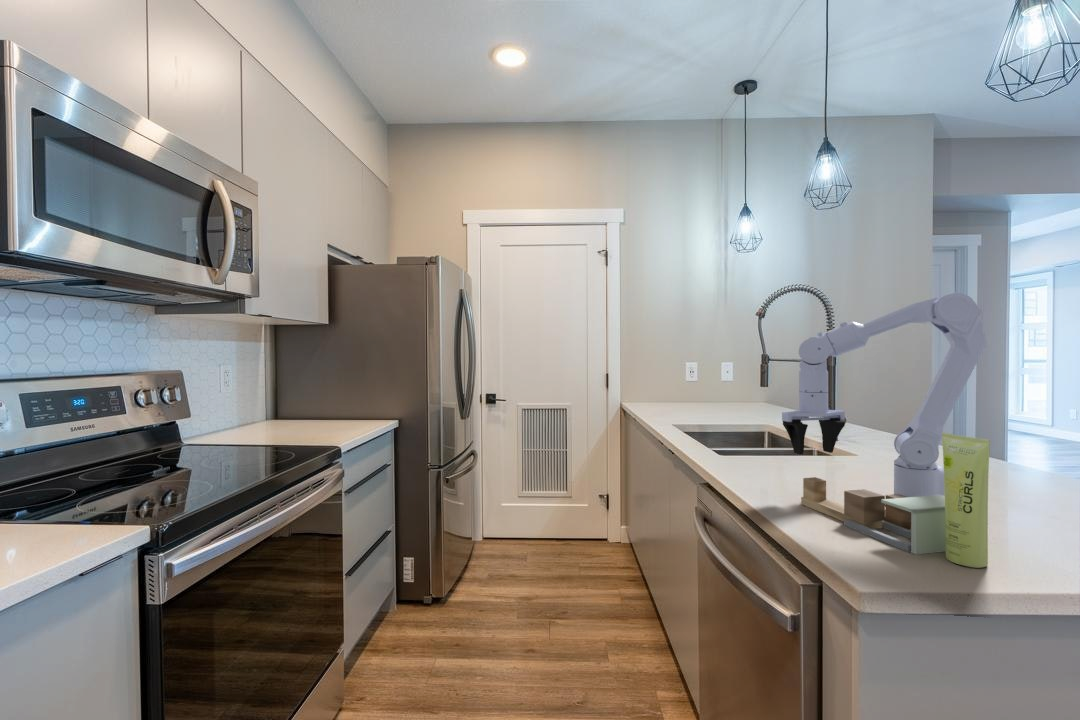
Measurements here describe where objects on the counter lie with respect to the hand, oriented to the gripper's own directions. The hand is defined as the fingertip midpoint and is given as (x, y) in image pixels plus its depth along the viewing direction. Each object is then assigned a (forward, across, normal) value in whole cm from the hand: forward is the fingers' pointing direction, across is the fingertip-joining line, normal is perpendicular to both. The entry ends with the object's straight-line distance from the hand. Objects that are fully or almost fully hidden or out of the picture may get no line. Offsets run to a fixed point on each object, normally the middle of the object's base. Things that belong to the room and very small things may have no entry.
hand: (813, 452), depth 113 cm
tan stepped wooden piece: (+10, +4, +12) cm, 16 cm away
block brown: (+10, -1, +18) cm, 20 cm away
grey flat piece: (+10, +2, +24) cm, 26 cm away
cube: (+8, +4, +18) cm, 20 cm away
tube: (+10, +3, +35) cm, 37 cm away
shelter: (+10, +1, +28) cm, 30 cm away
